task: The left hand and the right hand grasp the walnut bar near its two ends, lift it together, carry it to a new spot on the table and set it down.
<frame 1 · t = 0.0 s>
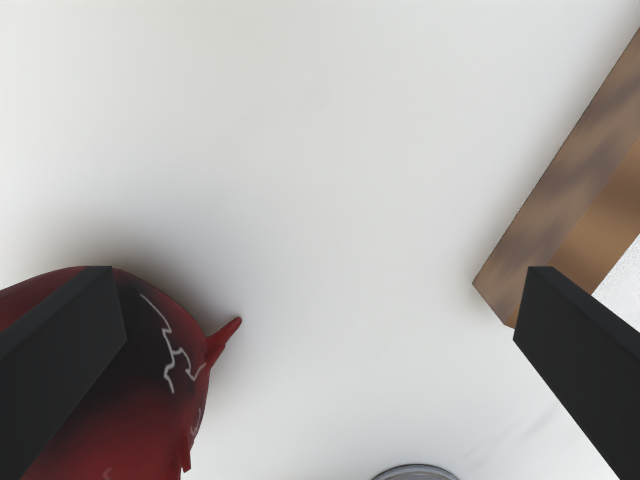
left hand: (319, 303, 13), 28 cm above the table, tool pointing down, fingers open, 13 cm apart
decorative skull: (128, 338, 46), on the table
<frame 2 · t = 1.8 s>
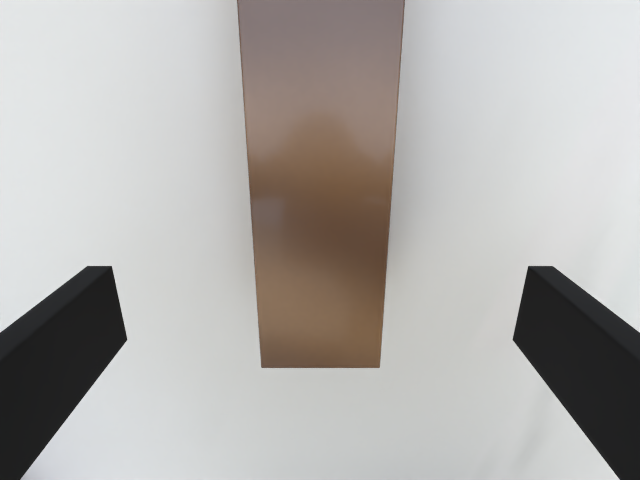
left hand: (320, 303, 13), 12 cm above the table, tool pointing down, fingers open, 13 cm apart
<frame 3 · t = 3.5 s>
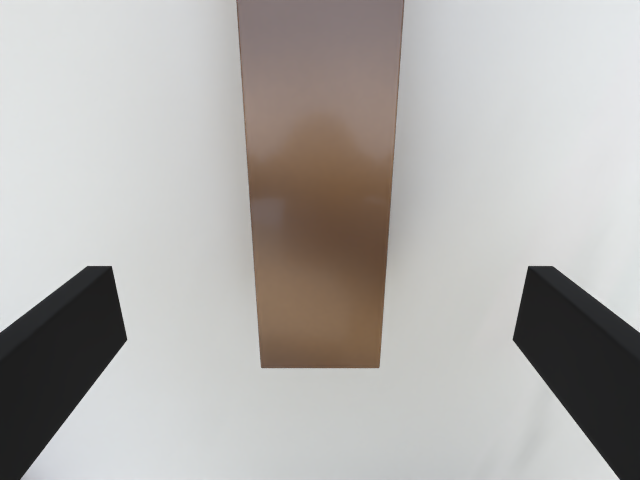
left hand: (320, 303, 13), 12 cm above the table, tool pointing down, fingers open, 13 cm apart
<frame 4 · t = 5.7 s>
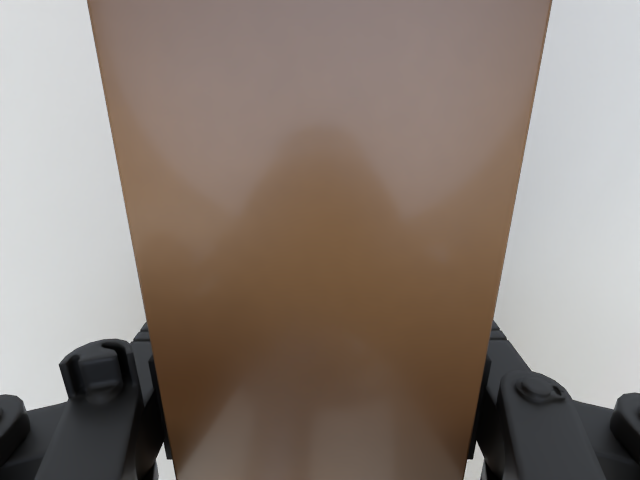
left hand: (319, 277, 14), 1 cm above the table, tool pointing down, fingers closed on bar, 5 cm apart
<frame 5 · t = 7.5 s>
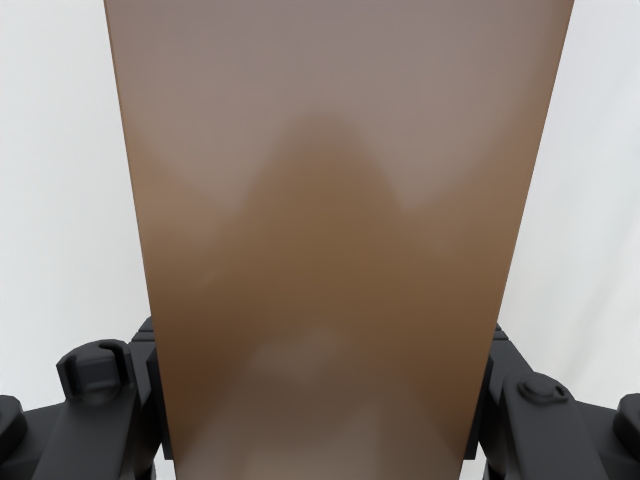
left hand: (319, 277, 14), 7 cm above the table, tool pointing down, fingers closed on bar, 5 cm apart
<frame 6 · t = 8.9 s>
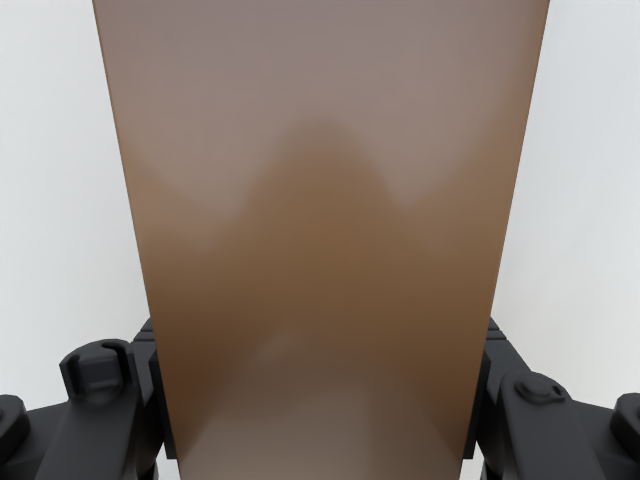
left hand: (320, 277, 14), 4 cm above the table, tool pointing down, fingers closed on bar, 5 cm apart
when the left hand's fingers open (1 cm above the table, at t = 9.5 s): bar stays where it is, on the table.
when the right hand's fingers open (4 cm above the table, at t = 9.7 s): bar stays where it is, on the table.
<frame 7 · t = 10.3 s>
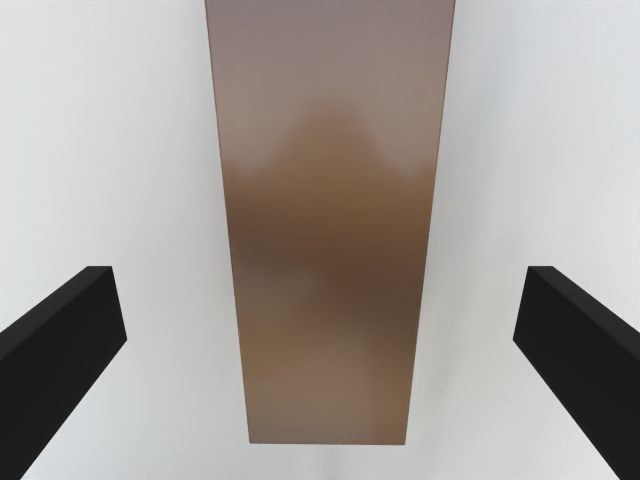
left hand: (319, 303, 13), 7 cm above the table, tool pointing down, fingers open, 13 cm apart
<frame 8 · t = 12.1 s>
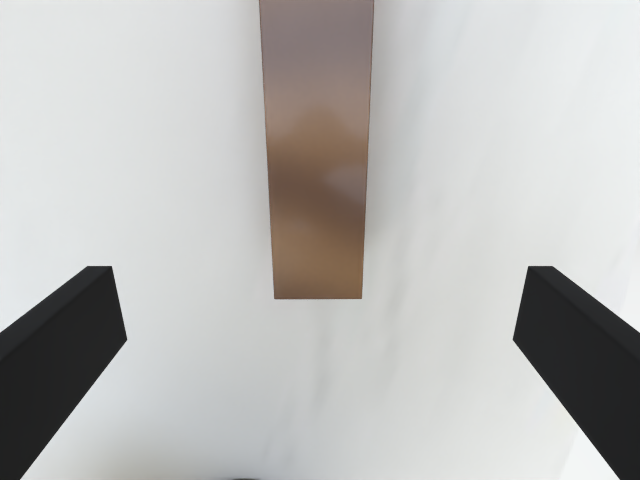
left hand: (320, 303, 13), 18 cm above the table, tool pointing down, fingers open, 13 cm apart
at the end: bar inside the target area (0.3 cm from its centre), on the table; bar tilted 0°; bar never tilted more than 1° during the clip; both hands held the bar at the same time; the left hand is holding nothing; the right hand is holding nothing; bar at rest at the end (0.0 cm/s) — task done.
